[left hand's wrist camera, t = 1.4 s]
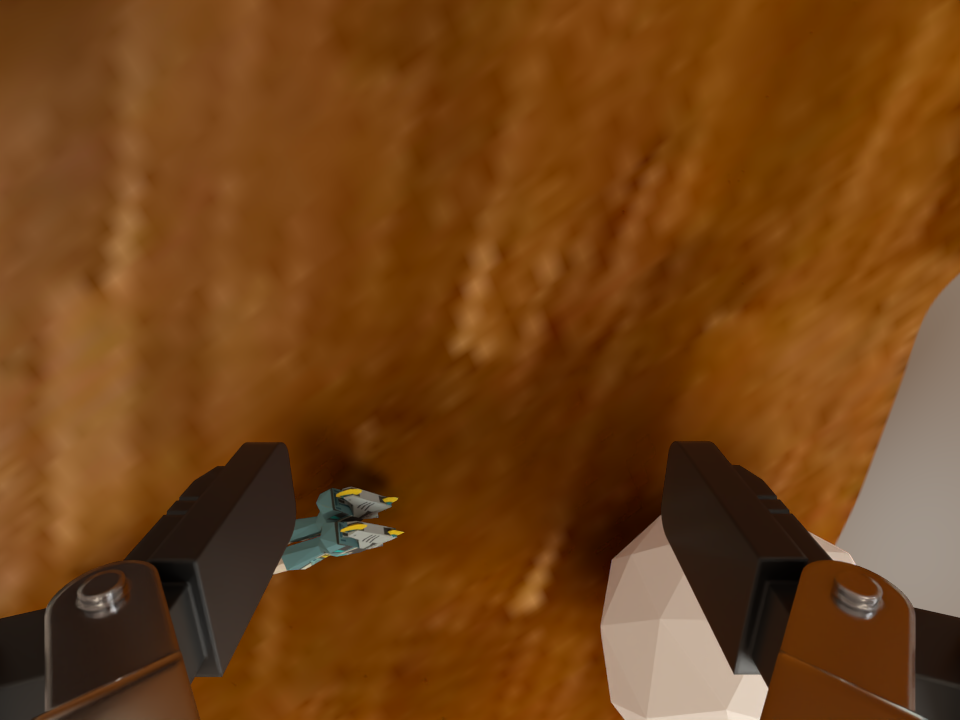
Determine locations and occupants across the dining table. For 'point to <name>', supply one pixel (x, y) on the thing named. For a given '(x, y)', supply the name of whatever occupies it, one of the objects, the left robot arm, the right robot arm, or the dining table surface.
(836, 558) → the sphere
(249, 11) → the dining table surface
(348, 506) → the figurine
